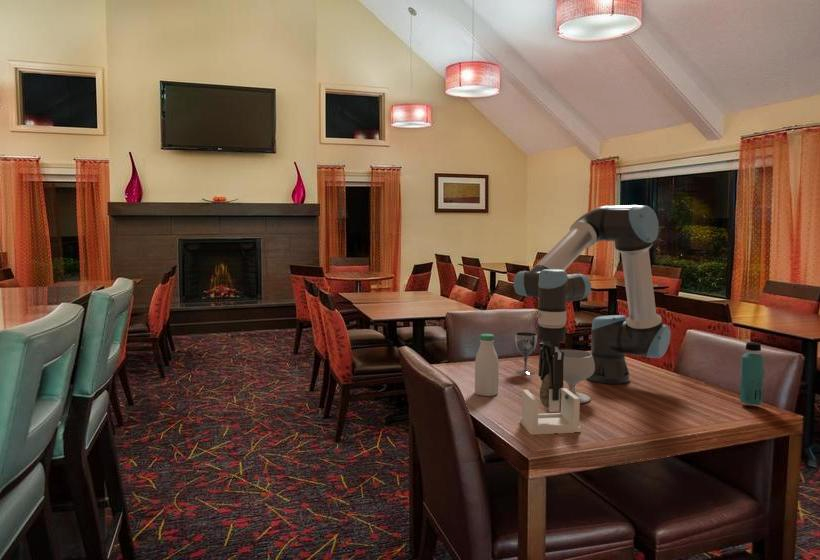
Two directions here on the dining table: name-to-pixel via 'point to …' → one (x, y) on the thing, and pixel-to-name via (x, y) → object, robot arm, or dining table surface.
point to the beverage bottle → (752, 375)
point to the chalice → (577, 370)
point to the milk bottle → (486, 367)
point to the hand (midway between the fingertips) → (549, 407)
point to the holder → (551, 415)
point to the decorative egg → (546, 391)
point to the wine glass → (525, 348)
